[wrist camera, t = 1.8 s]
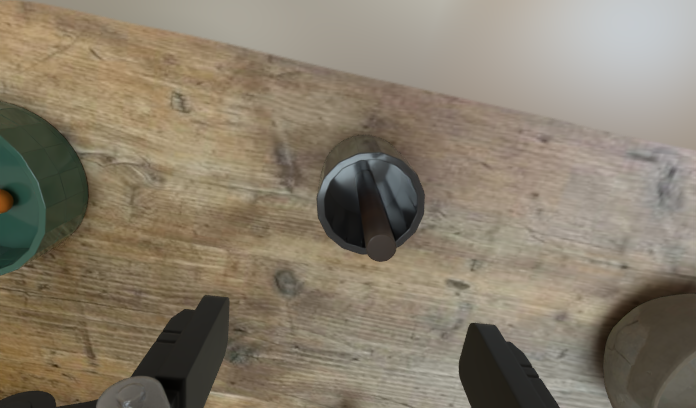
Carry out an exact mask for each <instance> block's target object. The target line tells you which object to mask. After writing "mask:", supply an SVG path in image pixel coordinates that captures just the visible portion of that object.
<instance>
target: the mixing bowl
mask: <svg viewBox="0 0 696 408" xmlns="http://www.w3.org/2000/svg"><path fill="white" fill-rule="evenodd" d="M0 189H2V190H5V191H7V192H9V193H10V194H11V195H12V197H13V201H14V202H13V206H12V207H11V209H10V210H8V211H7V212H5V213H1V214H0V276H1V275H4V274H6V273H9V272H12V271H15V270H17V269H19V268H21V267H23V266H24V265H26V264H27V263H29V262H31V261H32V260H34V259H36V258H37V257H39V256H41V255H42V254H44V253H46V252H47V251H49V250H51V249H52V248H54V247H56V246H57V245H58V244H60V243H61V242H62V241H64V240H65V239H66V238H68V237H69V236H70V235H71V234H72V233H73V232H74V231H75V230H76V229H77V228H78V226H79V225H80V223H81V222H82V219H83V217H84V215H85V212H86V208H87V203H88V185H87V180H86V176H85V173H84V169H83V167H82V164H81V162H80V160H79V158H78V156H77V155H76V153H75V151H74V150H73V148H72V147H71V145H70V144H69V143H68V142H67V140H66V139H65V138H64V137H63V136H62V135H61V134H60V133H59V132H58V131H57V130H56V129H55V128H54V127H53V126H52V125H50V124H49V123H48V122H46V121H45V120H44V119H42V118H41V117H39V116H38V115H36V114H34V113H32V112H30V111H28V110H26V109H24V108H21V107H19V106H16V105H13V104H10V103H6V102H1V101H0Z"/></svg>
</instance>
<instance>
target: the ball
mask: <svg viewBox="0 0 696 408" xmlns="http://www.w3.org/2000/svg"><path fill="white" fill-rule="evenodd" d="M13 202H14V201H13V197H12V195H11V194H10V193H9V192H7V191H5V190H2V189H0V214H1V213H5V212H7V211H8V210H10V209H11V207H12V206H13Z"/></svg>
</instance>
